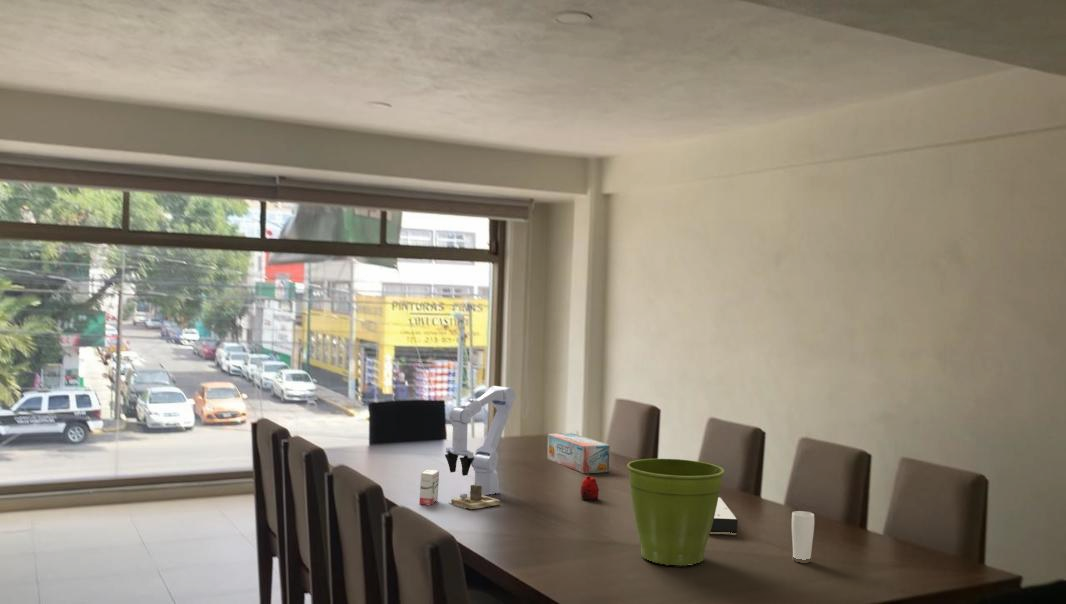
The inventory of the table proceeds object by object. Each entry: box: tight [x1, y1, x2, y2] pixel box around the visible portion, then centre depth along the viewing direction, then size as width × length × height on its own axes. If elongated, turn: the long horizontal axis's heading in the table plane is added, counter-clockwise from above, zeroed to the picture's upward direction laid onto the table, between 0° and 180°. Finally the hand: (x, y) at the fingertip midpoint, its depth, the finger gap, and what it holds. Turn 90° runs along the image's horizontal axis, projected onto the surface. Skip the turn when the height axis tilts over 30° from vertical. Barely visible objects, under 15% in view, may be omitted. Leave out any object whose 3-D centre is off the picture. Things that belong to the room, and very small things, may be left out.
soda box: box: [547, 432, 611, 474], centre depth 436 cm, size 41×14×13 cm, turn 24°
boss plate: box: [448, 493, 468, 509], centre depth 351 cm, size 13×11×4 cm
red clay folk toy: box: [580, 463, 600, 501], centre depth 364 cm, size 8×7×15 cm
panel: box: [450, 484, 501, 510], centre depth 349 cm, size 14×12×7 cm
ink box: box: [419, 469, 440, 506], centre depth 351 cm, size 9×5×12 cm, turn 169°
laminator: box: [710, 496, 738, 534], centre depth 332 cm, size 34×12×6 cm, turn 178°
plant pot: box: [626, 458, 725, 566], centre depth 285 cm, size 30×30×29 cm
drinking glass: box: [791, 510, 815, 560], centre depth 286 cm, size 7×7×15 cm
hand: (458, 473), depth 358 cm, fingers open, 7 cm apart
